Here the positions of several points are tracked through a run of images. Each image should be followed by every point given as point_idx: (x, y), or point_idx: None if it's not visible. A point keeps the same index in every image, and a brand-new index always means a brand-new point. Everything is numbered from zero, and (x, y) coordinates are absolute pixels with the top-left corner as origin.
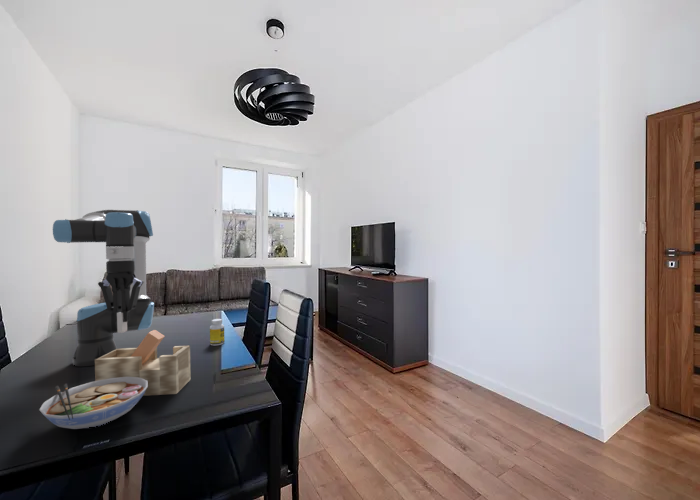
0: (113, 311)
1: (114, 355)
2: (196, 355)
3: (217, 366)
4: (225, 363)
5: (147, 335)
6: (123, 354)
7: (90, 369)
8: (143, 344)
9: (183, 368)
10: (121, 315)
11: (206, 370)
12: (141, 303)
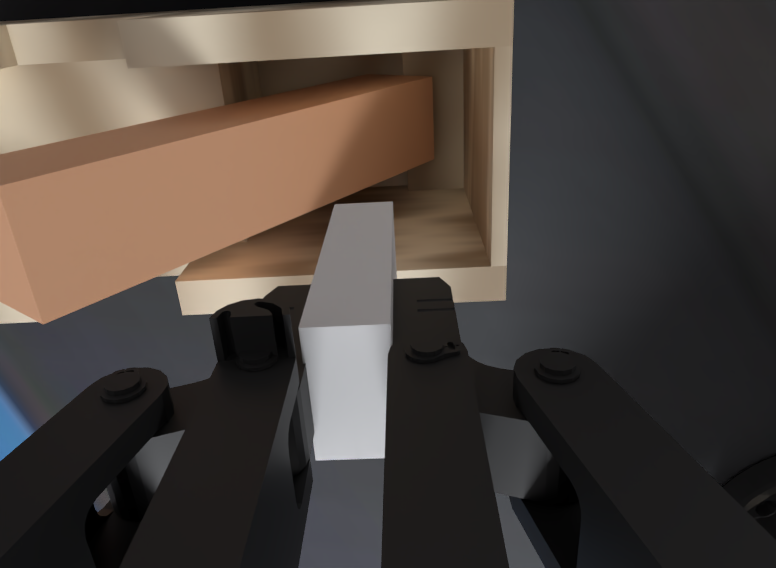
0: (462, 343)
1: (485, 226)
2: None
3: (26, 394)
4: (8, 430)
5: (26, 174)
6: (431, 253)
7: (759, 408)
8: (117, 146)
9: None
10: (309, 301)
11: (53, 345)
12: None
